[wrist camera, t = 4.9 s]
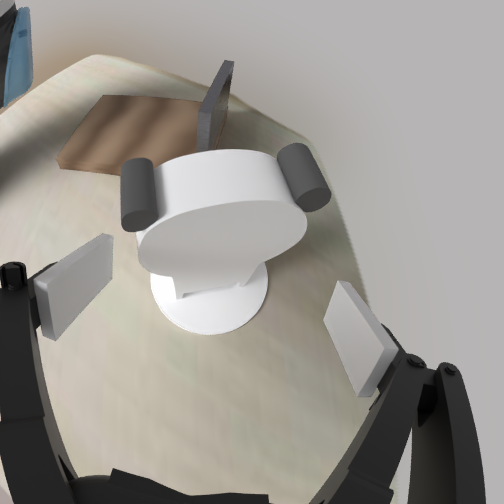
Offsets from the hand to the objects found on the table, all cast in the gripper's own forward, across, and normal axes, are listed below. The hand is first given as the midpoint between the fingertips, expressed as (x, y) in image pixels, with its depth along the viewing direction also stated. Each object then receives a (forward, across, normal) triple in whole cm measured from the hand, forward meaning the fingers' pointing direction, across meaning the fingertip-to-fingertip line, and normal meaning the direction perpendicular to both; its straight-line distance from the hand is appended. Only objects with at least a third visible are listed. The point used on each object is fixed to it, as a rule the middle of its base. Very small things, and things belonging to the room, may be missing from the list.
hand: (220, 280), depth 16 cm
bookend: (+21, -4, +9) cm, 24 cm away
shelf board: (+23, -14, +7) cm, 28 cm away
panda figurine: (+11, -1, -5) cm, 12 cm away
